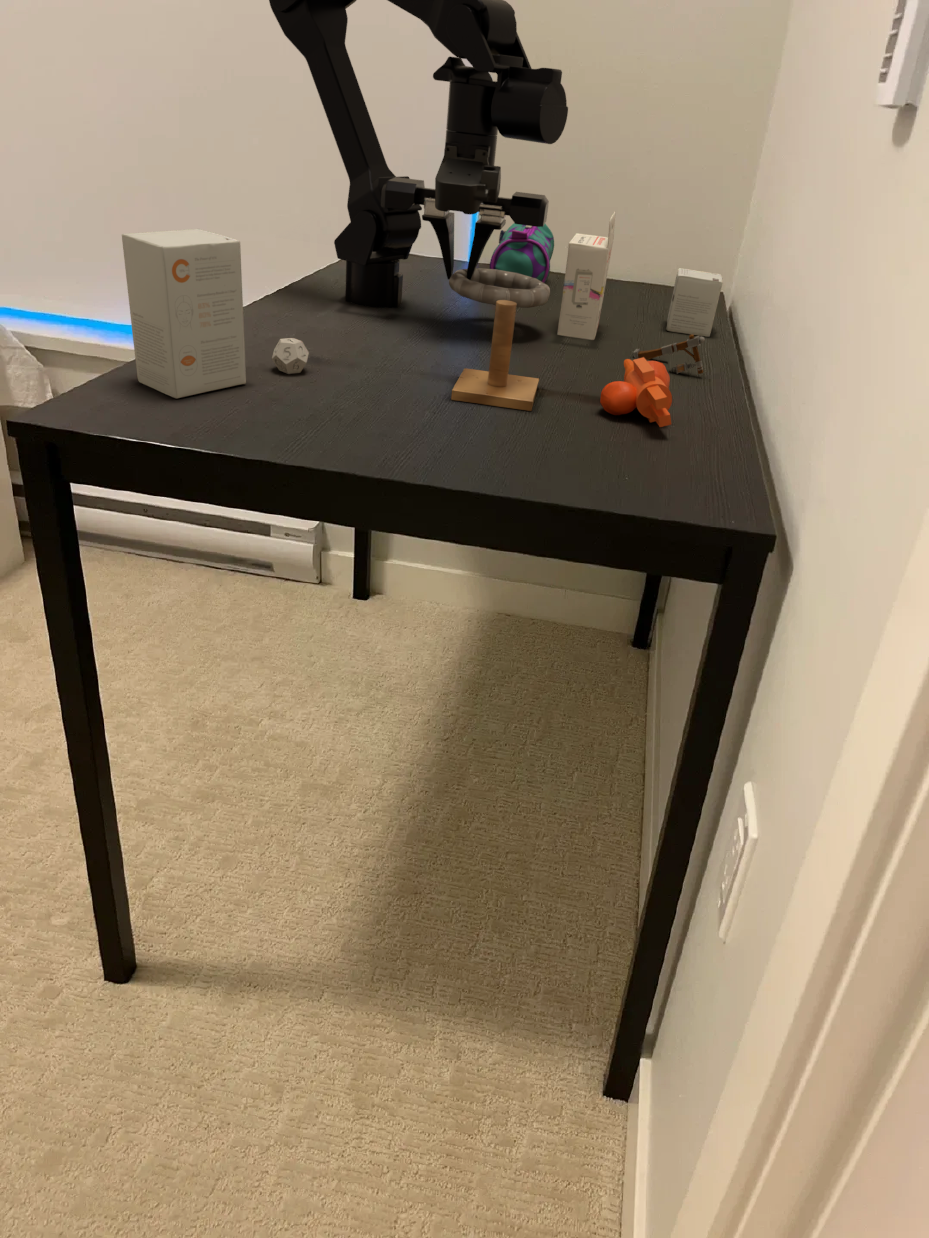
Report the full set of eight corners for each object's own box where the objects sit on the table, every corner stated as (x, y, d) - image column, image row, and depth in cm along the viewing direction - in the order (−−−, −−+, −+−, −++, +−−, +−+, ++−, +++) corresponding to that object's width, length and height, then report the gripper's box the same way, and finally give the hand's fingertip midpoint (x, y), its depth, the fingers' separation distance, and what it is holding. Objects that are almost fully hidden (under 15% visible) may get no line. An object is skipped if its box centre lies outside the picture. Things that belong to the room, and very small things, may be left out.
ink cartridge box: (561, 327, 117) (578, 206, 110) (598, 332, 117) (618, 211, 109) (553, 342, 110) (572, 214, 102) (593, 348, 109) (614, 219, 102)
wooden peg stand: (451, 400, 87) (459, 305, 82) (463, 377, 94) (471, 289, 89) (531, 411, 86) (544, 317, 82) (538, 387, 93) (550, 299, 89)
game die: (281, 377, 88) (280, 347, 86) (267, 366, 91) (266, 336, 89) (313, 374, 90) (314, 344, 88) (299, 364, 92) (299, 335, 91)
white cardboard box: (666, 321, 126) (677, 267, 122) (709, 327, 125) (722, 273, 121) (665, 331, 121) (677, 274, 117) (710, 337, 120) (724, 281, 116)
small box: (207, 368, 88) (199, 227, 81) (247, 385, 85) (242, 240, 78) (134, 381, 83) (119, 232, 76) (175, 400, 80) (162, 246, 73)
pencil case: (495, 273, 144) (502, 209, 139) (549, 280, 144) (558, 216, 139) (484, 300, 127) (491, 228, 122) (545, 307, 126) (555, 235, 121)
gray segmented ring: (441, 297, 102) (443, 279, 101) (457, 278, 112) (459, 262, 111) (544, 315, 101) (547, 297, 100) (551, 294, 111) (554, 278, 110)
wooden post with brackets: (709, 372, 101) (702, 333, 100) (641, 388, 105) (632, 350, 103) (711, 369, 103) (704, 330, 101) (644, 384, 106) (636, 347, 105)
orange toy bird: (689, 379, 80) (657, 343, 90) (608, 398, 81) (586, 361, 91) (694, 430, 83) (663, 390, 93) (616, 449, 84) (593, 407, 94)
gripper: (372, 126, 92) (366, 283, 100) (550, 147, 90) (530, 304, 99) (395, 122, 101) (388, 266, 110) (557, 141, 100) (538, 285, 108)
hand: (459, 280), depth 106 cm, fingers closed on gray segmented ring, 2 cm apart
